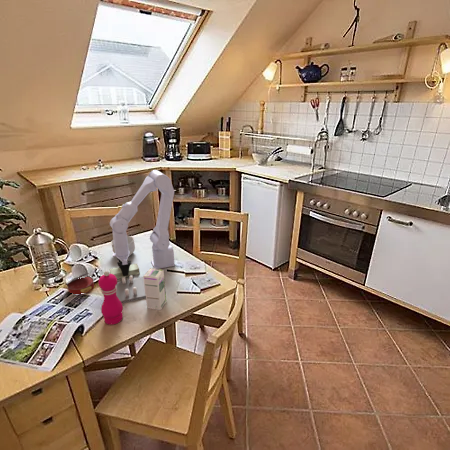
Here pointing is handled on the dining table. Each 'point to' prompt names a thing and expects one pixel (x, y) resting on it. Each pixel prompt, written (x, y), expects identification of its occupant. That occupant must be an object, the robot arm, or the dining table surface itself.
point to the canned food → (80, 284)
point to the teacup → (130, 245)
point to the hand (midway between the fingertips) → (124, 271)
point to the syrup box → (155, 288)
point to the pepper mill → (110, 299)
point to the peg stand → (130, 289)
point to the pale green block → (132, 271)
